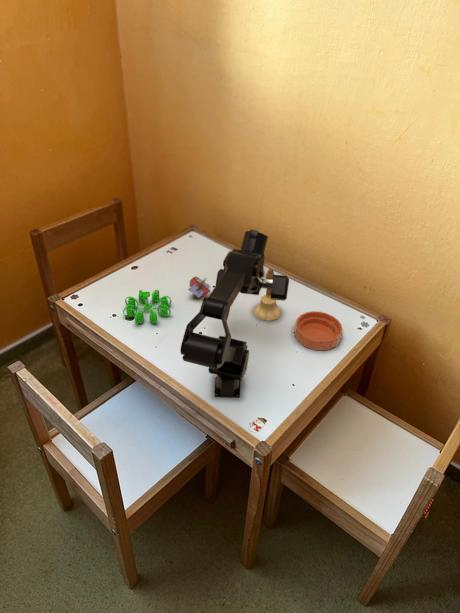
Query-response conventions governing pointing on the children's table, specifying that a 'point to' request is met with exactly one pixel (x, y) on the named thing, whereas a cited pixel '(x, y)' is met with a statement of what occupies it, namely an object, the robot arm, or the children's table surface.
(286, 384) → the children's table surface
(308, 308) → the children's table surface
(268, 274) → the hand bell
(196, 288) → the geometric puzzle
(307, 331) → the bowl
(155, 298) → the chandelier
